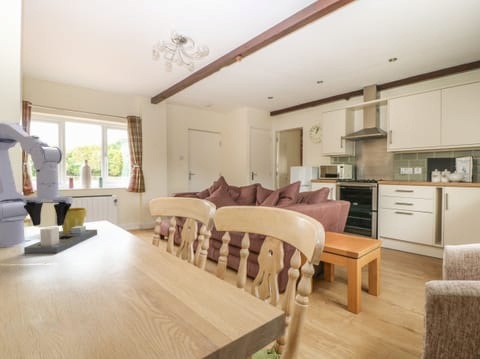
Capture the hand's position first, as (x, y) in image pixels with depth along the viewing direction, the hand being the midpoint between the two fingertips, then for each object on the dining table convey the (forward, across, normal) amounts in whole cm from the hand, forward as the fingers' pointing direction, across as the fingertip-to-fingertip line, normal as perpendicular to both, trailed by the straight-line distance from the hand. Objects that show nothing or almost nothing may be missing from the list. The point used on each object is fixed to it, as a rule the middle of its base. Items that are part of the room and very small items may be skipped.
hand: (48, 225), depth 85 cm
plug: (+8, 0, 0) cm, 8 cm away
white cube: (+8, 0, +16) cm, 18 cm away
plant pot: (+9, -9, +27) cm, 30 cm away
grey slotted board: (+9, 0, +8) cm, 12 cm away
